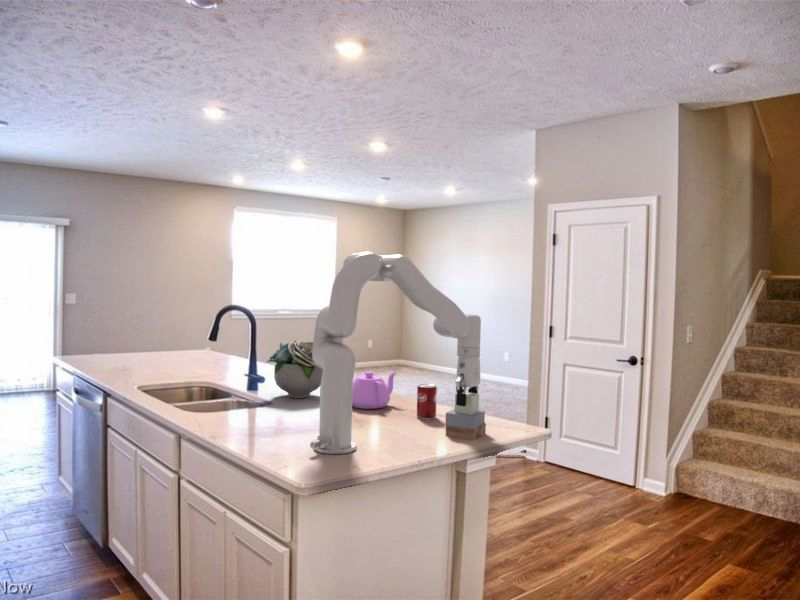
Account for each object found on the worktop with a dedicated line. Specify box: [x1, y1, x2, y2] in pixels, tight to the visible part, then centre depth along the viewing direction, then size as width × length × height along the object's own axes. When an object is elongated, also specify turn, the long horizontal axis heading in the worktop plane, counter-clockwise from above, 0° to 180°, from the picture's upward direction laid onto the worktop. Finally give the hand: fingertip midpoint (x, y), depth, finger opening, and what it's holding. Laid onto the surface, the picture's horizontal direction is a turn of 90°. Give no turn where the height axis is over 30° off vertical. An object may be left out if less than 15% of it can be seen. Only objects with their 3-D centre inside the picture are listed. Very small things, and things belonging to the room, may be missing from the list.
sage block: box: [454, 391, 480, 415], centre depth 193 cm, size 6×6×6 cm
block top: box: [445, 408, 486, 429], centre depth 193 cm, size 10×10×4 cm
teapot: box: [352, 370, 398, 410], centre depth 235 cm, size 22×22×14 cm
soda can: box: [416, 383, 438, 420], centre depth 216 cm, size 7×7×12 cm
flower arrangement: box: [266, 340, 323, 399], centre depth 249 cm, size 25×25×24 cm
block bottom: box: [445, 422, 487, 441], centre depth 193 cm, size 10×10×4 cm
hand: (467, 403), depth 193 cm, fingers open, 9 cm apart
